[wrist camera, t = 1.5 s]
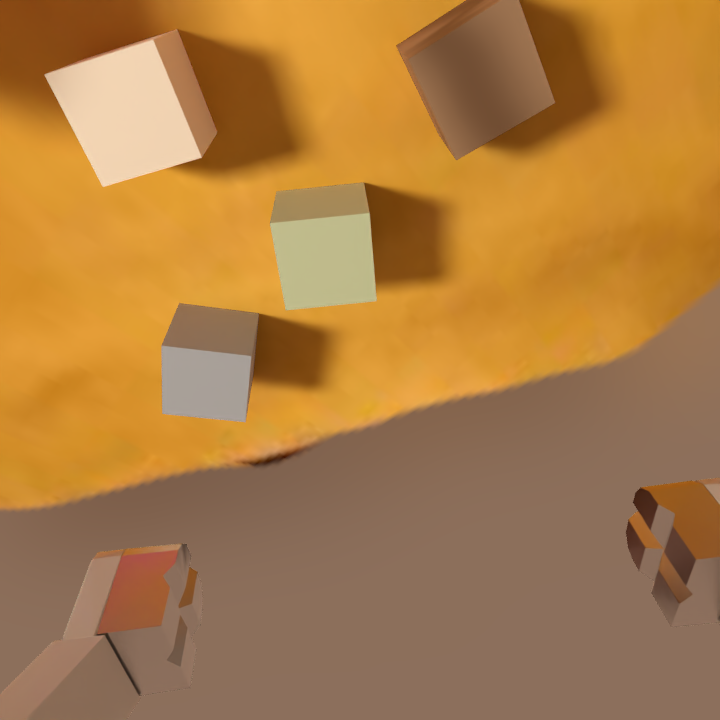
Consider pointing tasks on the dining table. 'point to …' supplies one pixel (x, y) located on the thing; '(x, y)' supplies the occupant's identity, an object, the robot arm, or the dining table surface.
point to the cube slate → (209, 362)
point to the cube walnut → (477, 72)
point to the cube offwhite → (135, 108)
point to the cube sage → (324, 246)
